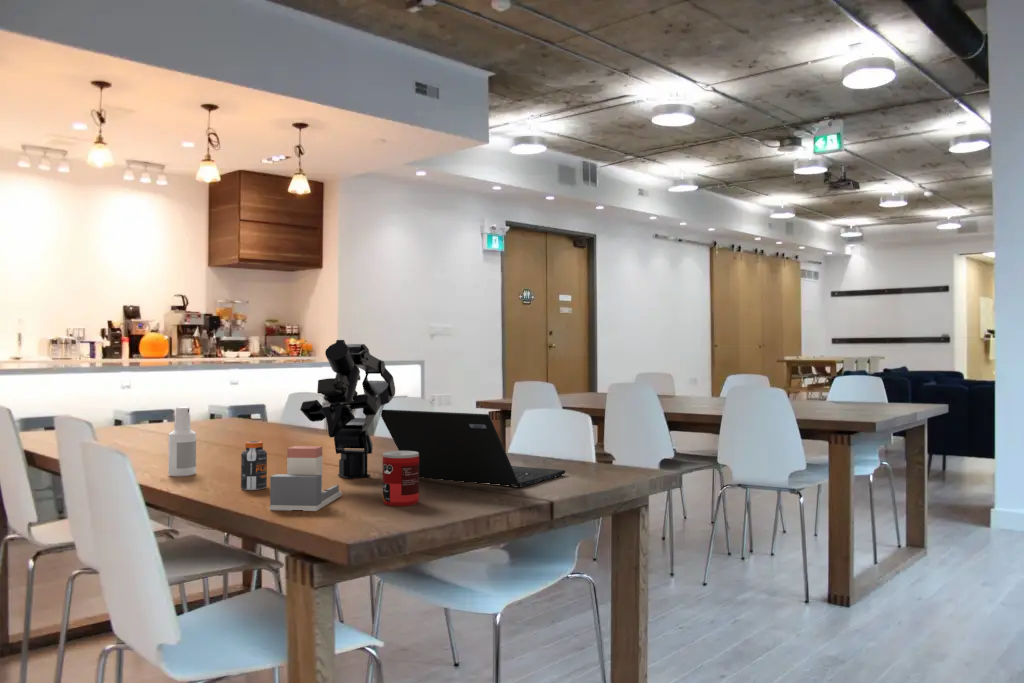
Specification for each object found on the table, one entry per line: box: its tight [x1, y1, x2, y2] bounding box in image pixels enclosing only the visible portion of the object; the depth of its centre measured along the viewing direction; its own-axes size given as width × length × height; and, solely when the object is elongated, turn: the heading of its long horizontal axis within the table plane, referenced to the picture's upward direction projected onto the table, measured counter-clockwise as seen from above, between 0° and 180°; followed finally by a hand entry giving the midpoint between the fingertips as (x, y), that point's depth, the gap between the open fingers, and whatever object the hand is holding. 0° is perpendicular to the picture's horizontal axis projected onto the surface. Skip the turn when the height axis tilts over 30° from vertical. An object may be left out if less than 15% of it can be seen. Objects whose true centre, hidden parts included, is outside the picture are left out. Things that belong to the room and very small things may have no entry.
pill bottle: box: [240, 440, 268, 491], centre depth 191 cm, size 6×6×11 cm
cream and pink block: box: [286, 445, 323, 492], centre depth 172 cm, size 4×6×11 cm, turn 85°
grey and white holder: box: [269, 473, 343, 512], centre depth 174 cm, size 17×10×7 cm, turn 175°
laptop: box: [380, 409, 566, 488], centre depth 203 cm, size 33×38×19 cm
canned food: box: [382, 450, 420, 507], centre depth 173 cm, size 8×8×11 cm
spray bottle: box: [167, 406, 197, 478], centre depth 211 cm, size 7×7×18 cm
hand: (331, 436), depth 192 cm, fingers closed
